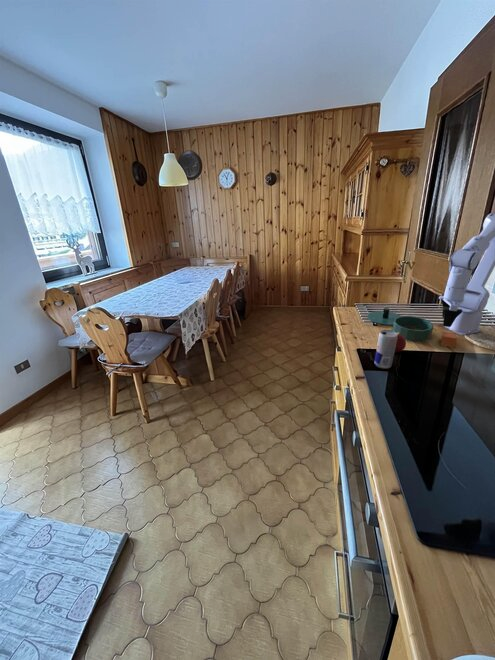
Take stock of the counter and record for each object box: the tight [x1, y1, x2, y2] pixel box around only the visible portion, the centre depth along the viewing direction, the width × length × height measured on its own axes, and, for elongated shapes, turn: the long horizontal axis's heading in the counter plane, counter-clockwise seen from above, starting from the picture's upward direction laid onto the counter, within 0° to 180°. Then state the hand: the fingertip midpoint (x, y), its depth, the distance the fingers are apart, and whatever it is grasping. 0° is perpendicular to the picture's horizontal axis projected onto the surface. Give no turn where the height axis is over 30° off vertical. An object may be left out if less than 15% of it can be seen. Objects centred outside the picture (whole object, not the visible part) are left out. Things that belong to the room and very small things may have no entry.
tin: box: [391, 315, 434, 342], centre depth 112 cm, size 13×13×5 cm
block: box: [440, 331, 458, 348], centre depth 103 cm, size 4×4×4 cm
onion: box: [394, 332, 407, 353], centre depth 100 cm, size 6×6×8 cm
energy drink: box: [373, 329, 398, 370], centre depth 93 cm, size 5×5×12 cm
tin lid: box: [367, 307, 402, 326], centre depth 124 cm, size 14×14×5 cm
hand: (446, 321), depth 102 cm, fingers open, 7 cm apart
